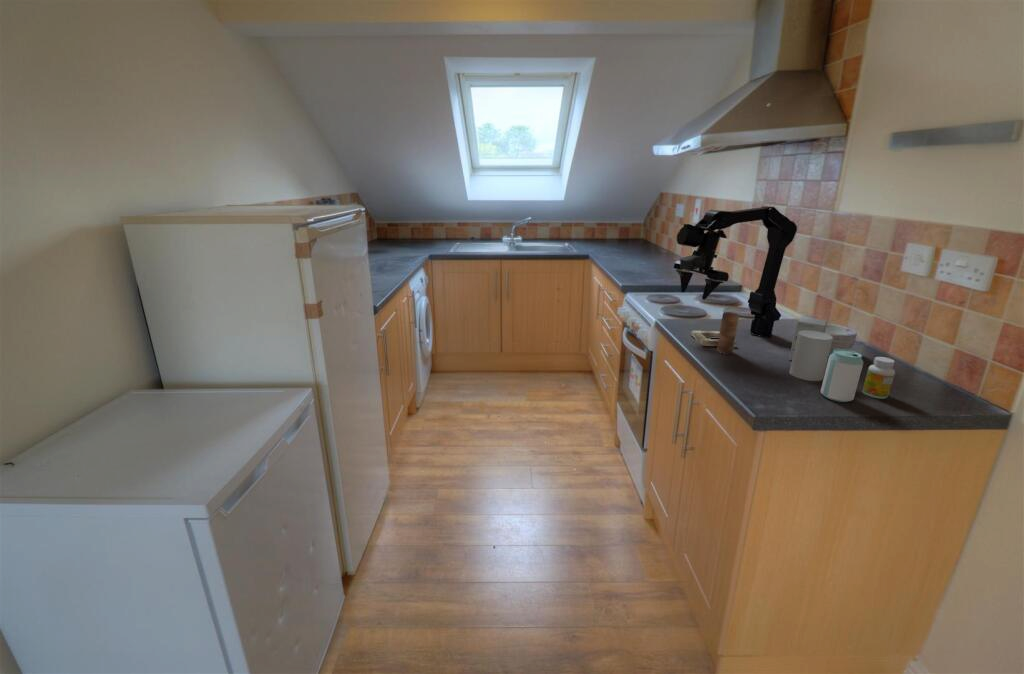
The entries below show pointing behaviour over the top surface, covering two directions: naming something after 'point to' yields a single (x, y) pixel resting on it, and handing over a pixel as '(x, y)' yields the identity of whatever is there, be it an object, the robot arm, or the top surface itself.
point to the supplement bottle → (879, 378)
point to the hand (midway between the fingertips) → (692, 295)
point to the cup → (810, 355)
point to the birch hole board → (702, 339)
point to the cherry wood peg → (727, 332)
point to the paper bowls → (840, 337)
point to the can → (842, 375)
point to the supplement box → (807, 324)
